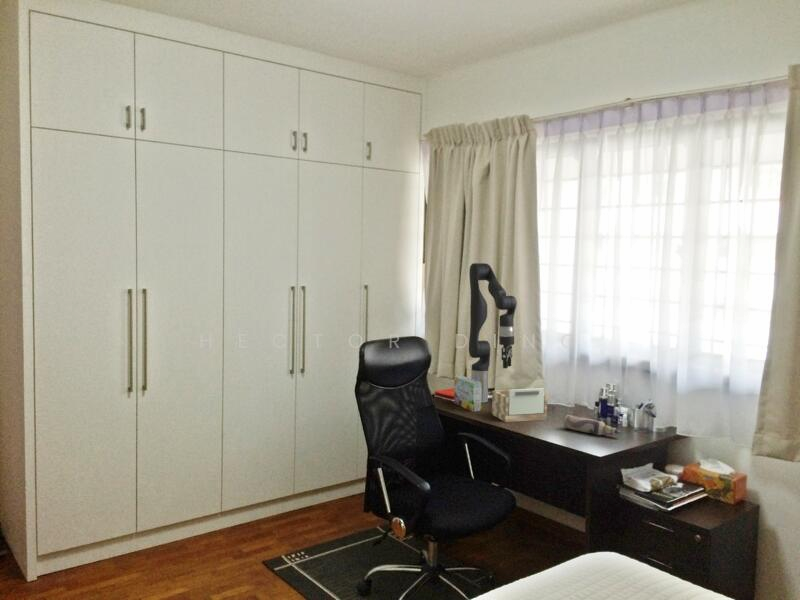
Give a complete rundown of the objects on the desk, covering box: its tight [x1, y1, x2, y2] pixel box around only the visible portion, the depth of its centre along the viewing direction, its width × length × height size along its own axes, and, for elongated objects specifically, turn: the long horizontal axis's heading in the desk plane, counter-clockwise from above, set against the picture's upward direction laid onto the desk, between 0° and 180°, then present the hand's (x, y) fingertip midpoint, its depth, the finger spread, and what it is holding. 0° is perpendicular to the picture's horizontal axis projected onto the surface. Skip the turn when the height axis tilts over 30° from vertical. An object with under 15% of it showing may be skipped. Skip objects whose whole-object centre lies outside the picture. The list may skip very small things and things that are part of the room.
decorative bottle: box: [563, 414, 621, 437], centre depth 303 cm, size 26×8×7 cm, turn 48°
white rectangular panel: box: [507, 387, 545, 415], centre depth 325 cm, size 2×18×12 cm, turn 106°
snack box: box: [453, 375, 482, 413], centre depth 352 cm, size 21×6×15 cm, turn 23°
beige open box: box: [491, 389, 548, 423], centre depth 333 cm, size 16×22×12 cm
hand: (507, 367), depth 340 cm, fingers open, 8 cm apart
